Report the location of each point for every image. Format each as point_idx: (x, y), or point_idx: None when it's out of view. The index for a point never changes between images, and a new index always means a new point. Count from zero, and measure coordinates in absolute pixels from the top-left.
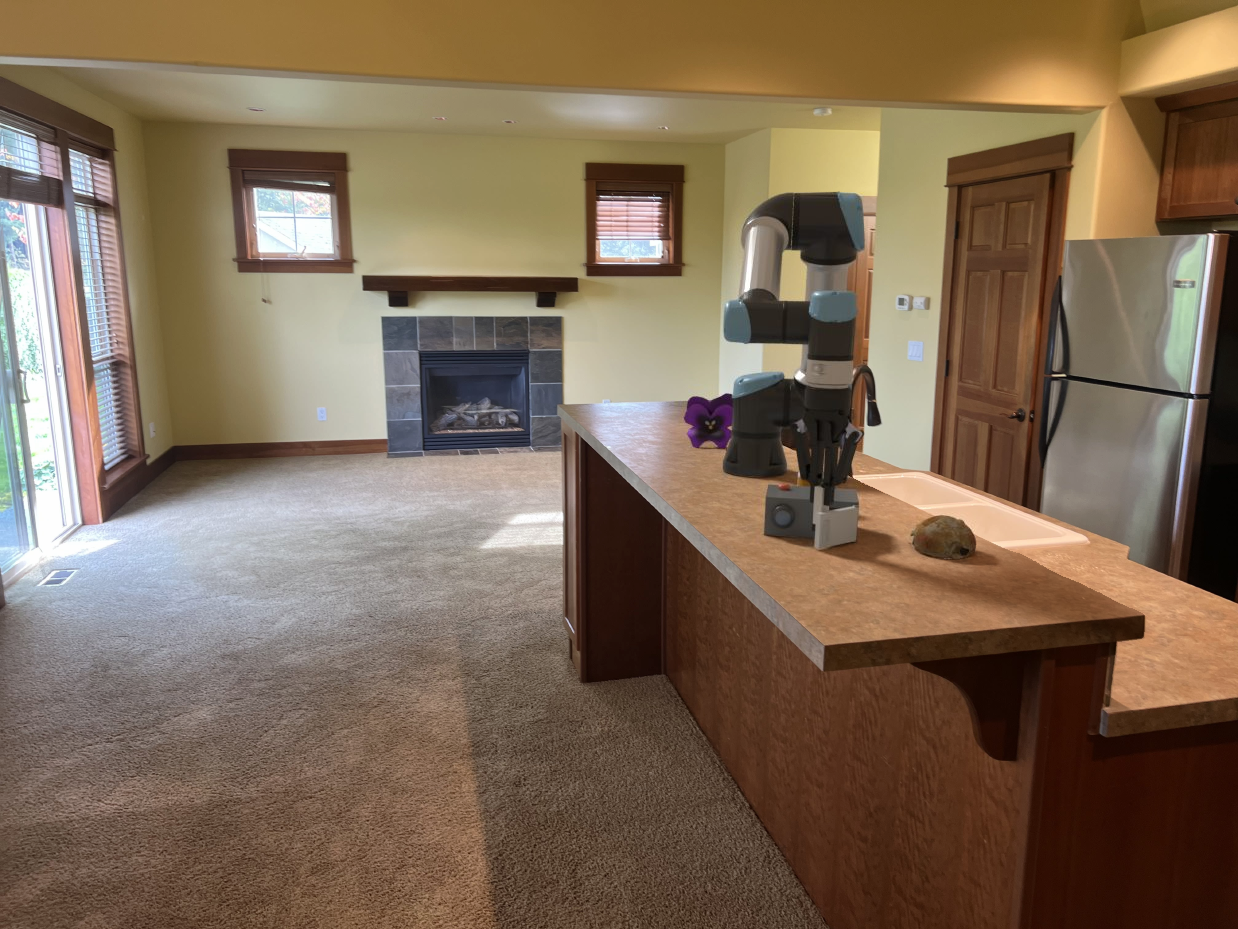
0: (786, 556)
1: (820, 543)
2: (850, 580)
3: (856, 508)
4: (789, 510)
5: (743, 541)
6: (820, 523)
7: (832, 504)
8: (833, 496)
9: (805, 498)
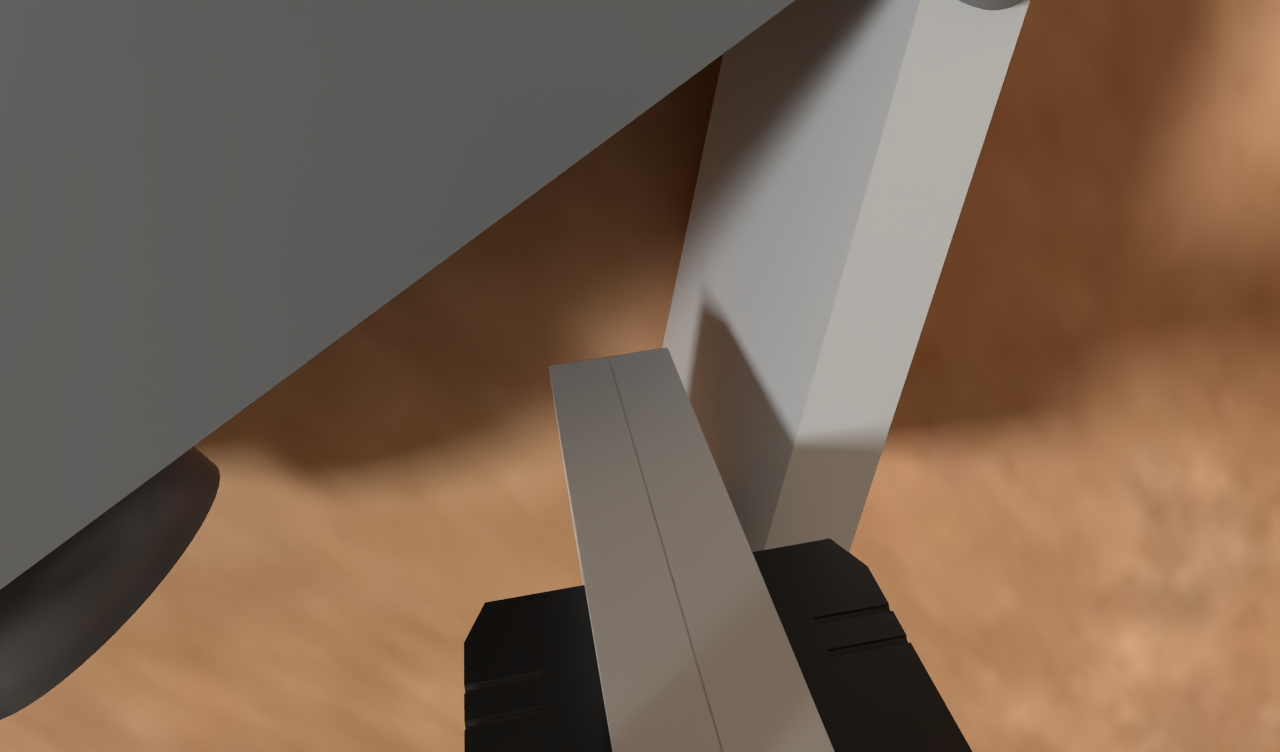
0: None
1: None
2: (1170, 729)
3: (1023, 4)
4: (128, 606)
5: (48, 737)
6: None
7: (833, 547)
8: (905, 658)
9: (91, 432)
